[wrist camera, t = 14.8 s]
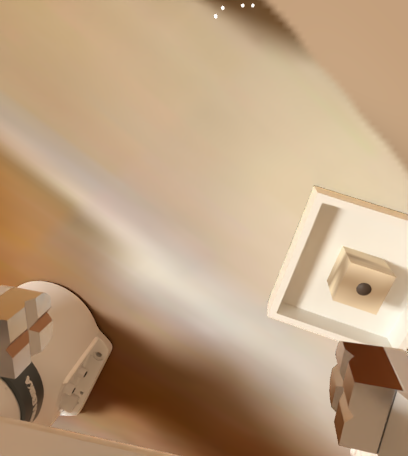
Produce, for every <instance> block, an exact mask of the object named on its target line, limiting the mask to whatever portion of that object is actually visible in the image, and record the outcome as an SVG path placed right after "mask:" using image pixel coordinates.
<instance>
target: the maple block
mask: <svg viewBox="0 0 408 456" xmlns="http://www.w3.org/2000/svg"><path fill="white" fill-rule="evenodd" d="M395 279H396V276H395V274H394V273H393V272H392V270H391V269H390V268H389V266H388V265H387V263H386V262H385V261H384V259H382V258H379V257H376V256H373V255H370V254H366V253H363V252H360V251H357V250H354V249H351V248H348V247H345V246H342V249H341V251H340V253H339V255H338V257H337V259H336V262H335V264H334V266H333V268H332V270H331V273H330V275H329V277H328V279H327V283H328V286H329V289H330V293H331V296H332V299H333V301H336V302H339V303H342V304H345V305H348V306H351V307H354V308H357V309H360V310H363V311H366V312H369V313H372V314H375V315H377V313H378V311H379V309H380V307H381V305H382V303H383V301H384V300H385V298H386V296H387V294H388V292H389V290H390V288H391V287H392V285H393V283H394V281H395Z"/></svg>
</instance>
